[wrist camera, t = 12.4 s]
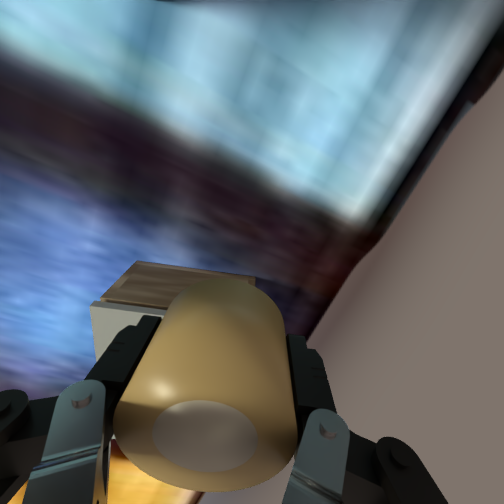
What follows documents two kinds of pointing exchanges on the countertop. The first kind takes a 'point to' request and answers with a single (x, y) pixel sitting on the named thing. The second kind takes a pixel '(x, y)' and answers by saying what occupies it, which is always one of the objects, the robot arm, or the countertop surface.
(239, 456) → the tan rounded piece
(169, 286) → the crate
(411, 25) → the countertop surface
